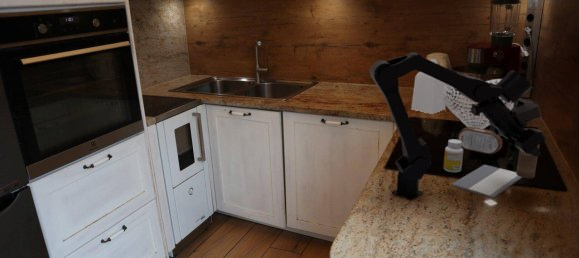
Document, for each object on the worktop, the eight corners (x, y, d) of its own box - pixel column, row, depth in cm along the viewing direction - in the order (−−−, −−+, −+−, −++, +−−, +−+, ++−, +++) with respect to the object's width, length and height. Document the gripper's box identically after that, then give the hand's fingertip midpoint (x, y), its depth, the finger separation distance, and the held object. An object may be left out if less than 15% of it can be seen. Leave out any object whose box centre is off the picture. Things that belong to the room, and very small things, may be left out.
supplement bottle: (446, 165, 139) (449, 137, 136) (463, 168, 135) (466, 140, 133) (440, 170, 135) (443, 141, 132) (457, 174, 131) (460, 144, 129)
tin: (501, 154, 147) (504, 132, 145) (498, 157, 145) (501, 134, 143) (458, 146, 157) (461, 124, 155) (455, 148, 155) (457, 126, 153)
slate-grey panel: (493, 198, 115) (493, 196, 114) (451, 185, 123) (451, 183, 123) (523, 176, 129) (523, 174, 128) (484, 166, 137) (484, 164, 137)
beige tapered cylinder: (531, 179, 113) (538, 134, 110) (513, 174, 117) (519, 130, 113) (537, 174, 116) (544, 130, 113) (519, 170, 120) (526, 127, 116)
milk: (424, 108, 213) (428, 57, 206) (445, 112, 205) (449, 59, 198) (410, 112, 206) (414, 60, 199) (431, 117, 198) (435, 62, 190)
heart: (510, 128, 177) (517, 77, 171) (514, 139, 163) (522, 83, 157) (440, 123, 187) (445, 74, 181) (439, 132, 173) (443, 80, 167)
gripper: (543, 101, 101) (581, 143, 104) (505, 86, 119) (537, 123, 122) (507, 132, 103) (544, 173, 106) (474, 113, 121) (507, 149, 124)
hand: (533, 152), depth 115 cm, fingers closed on beige tapered cylinder, 4 cm apart
